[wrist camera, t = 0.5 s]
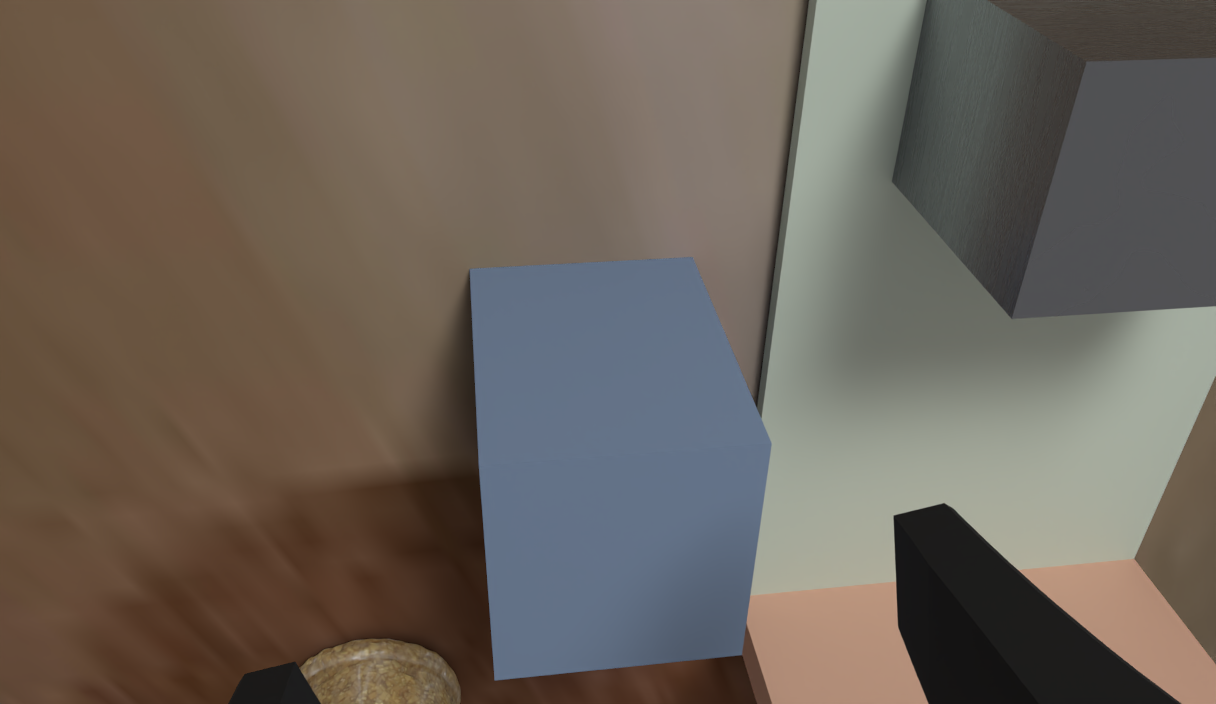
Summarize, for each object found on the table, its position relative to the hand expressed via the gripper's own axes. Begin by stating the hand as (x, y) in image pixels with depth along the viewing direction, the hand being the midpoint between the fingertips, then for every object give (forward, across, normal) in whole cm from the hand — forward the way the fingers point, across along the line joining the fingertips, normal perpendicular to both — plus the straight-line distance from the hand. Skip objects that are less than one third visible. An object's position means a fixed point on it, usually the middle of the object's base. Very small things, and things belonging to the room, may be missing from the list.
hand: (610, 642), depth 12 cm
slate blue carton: (+10, 0, +3) cm, 10 cm away
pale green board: (+10, -10, +5) cm, 14 cm away
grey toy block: (+9, -11, -1) cm, 14 cm away
